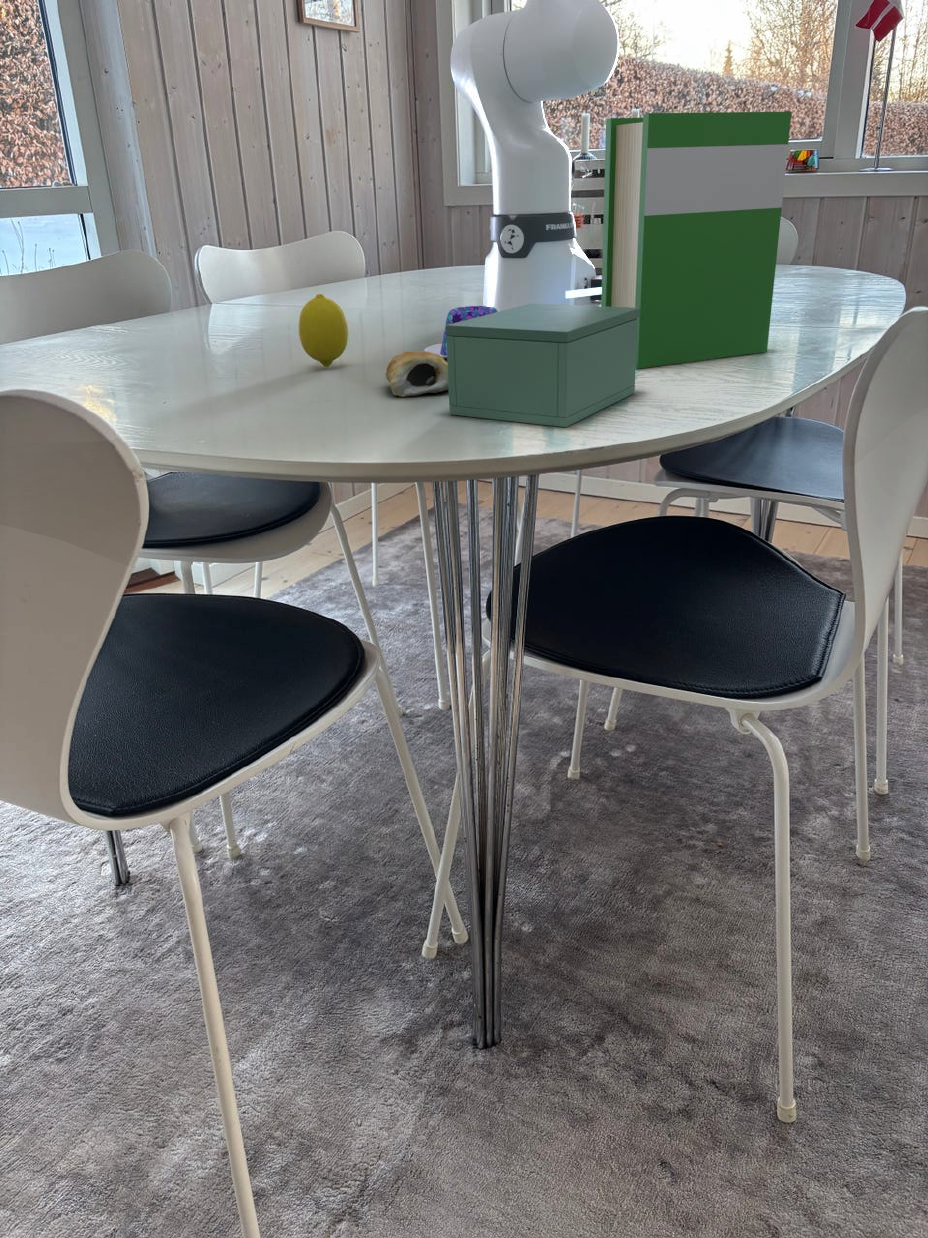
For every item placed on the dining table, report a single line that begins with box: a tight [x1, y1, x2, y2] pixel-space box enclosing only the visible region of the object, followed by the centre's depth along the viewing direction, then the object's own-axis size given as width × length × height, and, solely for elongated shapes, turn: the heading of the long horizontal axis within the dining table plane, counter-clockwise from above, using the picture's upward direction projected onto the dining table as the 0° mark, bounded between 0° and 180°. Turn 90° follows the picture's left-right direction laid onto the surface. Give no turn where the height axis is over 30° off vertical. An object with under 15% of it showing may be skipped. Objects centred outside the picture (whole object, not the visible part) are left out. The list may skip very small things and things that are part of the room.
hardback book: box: [601, 111, 792, 370], centre depth 99 cm, size 18×7×24 cm, turn 115°
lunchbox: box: [446, 319, 638, 428], centre depth 83 cm, size 15×12×7 cm
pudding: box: [423, 305, 498, 360], centre depth 109 cm, size 12×12×5 cm
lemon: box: [298, 293, 349, 368], centre depth 104 cm, size 6×6×8 cm
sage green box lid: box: [445, 304, 641, 343], centre depth 82 cm, size 15×12×1 cm
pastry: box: [384, 350, 449, 398], centre depth 93 cm, size 9×7×4 cm
